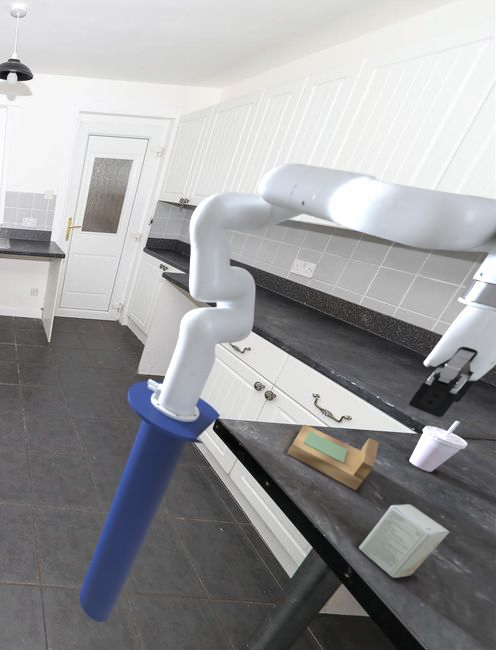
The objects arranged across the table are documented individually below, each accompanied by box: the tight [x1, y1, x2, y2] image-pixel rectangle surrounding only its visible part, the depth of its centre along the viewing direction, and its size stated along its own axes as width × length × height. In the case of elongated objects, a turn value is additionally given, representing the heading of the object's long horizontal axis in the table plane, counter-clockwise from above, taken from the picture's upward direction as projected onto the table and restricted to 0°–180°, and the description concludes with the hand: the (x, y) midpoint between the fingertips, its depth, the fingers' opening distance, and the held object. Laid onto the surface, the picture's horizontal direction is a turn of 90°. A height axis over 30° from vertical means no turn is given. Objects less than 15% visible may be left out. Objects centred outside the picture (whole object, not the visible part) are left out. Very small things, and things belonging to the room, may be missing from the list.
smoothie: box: [409, 420, 469, 473], centre depth 78 cm, size 6×6×14 cm
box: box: [358, 503, 450, 579], centre depth 56 cm, size 5×4×11 cm
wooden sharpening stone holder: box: [286, 423, 380, 491], centre depth 79 cm, size 12×13×7 cm
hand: (433, 403), depth 51 cm, fingers open, 9 cm apart
